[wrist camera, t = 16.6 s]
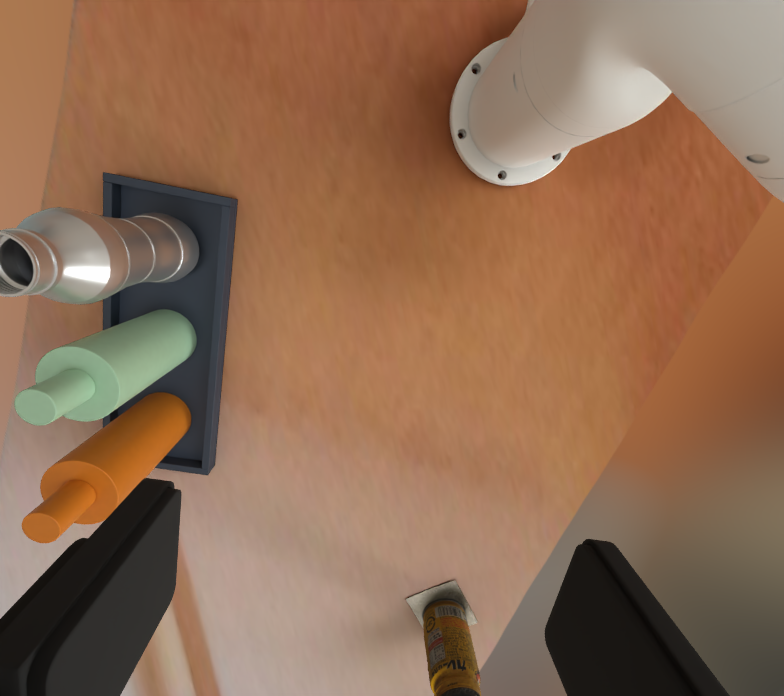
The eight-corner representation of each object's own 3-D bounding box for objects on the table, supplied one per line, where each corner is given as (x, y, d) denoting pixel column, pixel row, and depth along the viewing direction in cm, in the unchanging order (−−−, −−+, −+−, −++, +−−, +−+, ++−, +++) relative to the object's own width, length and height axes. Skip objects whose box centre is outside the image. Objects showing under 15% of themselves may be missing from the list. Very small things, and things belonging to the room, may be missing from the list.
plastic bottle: (132, 213, 40) (-86, 201, 21) (202, 213, 41) (49, 200, 21) (144, 279, 42) (-47, 324, 23) (211, 278, 42) (77, 321, 23)
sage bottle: (139, 304, 43) (-19, 356, 26) (198, 314, 43) (83, 372, 26) (138, 358, 44) (-12, 441, 27) (195, 367, 45) (84, 455, 28)
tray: (116, 174, 40) (102, 171, 38) (237, 199, 41) (230, 198, 39) (113, 451, 48) (102, 460, 46) (214, 465, 49) (207, 475, 47)
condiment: (430, 639, 58) (443, 740, 47) (405, 597, 56) (413, 693, 45) (477, 620, 58) (503, 718, 46) (454, 578, 56) (475, 670, 44)
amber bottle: (137, 387, 45) (-8, 486, 28) (193, 396, 46) (84, 498, 29) (136, 436, 47) (-2, 557, 30) (189, 443, 48) (85, 567, 30)
